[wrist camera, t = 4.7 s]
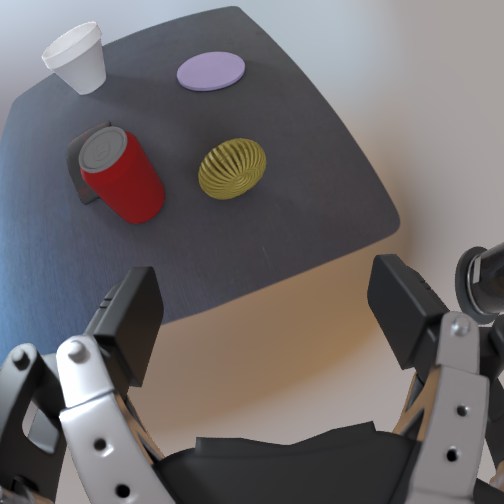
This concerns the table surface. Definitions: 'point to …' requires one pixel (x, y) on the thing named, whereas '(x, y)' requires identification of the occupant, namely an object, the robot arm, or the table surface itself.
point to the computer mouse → (74, 167)
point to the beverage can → (122, 174)
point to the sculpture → (232, 168)
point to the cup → (78, 58)
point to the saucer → (211, 71)
